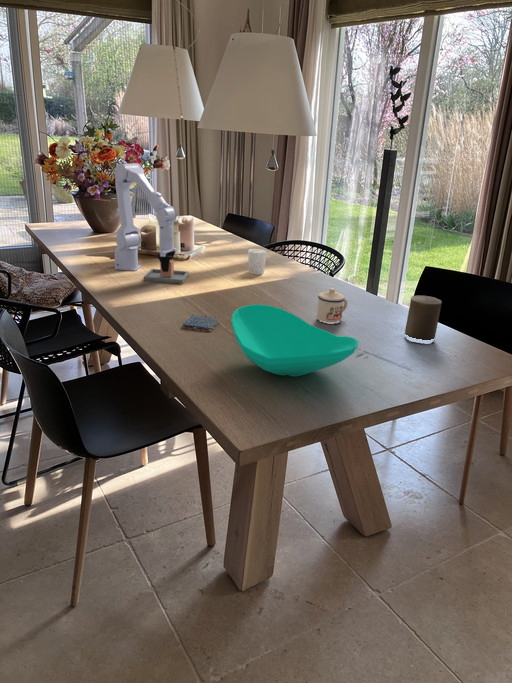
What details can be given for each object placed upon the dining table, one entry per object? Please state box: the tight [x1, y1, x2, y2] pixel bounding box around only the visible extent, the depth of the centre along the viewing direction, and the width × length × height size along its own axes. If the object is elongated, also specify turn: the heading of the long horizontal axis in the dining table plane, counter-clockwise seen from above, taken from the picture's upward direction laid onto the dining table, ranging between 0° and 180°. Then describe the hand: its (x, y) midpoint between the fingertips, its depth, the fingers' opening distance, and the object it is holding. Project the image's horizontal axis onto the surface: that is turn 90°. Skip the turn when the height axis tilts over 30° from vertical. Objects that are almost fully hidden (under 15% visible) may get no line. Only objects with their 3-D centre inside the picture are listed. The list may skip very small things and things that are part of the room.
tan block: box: [160, 259, 175, 277], centre depth 230 cm, size 4×4×6 cm
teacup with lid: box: [316, 287, 348, 322], centre depth 193 cm, size 12×9×12 cm
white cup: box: [247, 248, 267, 276], centre depth 246 cm, size 8×8×10 cm
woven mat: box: [181, 314, 220, 333], centre depth 183 cm, size 10×11×2 cm
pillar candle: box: [404, 295, 442, 340], centre depth 180 cm, size 10×10×15 cm
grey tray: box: [143, 268, 190, 285], centre depth 232 cm, size 16×13×2 cm
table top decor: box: [231, 304, 360, 377], centre depth 152 cm, size 40×28×13 cm
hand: (166, 269), depth 231 cm, fingers open, 5 cm apart
